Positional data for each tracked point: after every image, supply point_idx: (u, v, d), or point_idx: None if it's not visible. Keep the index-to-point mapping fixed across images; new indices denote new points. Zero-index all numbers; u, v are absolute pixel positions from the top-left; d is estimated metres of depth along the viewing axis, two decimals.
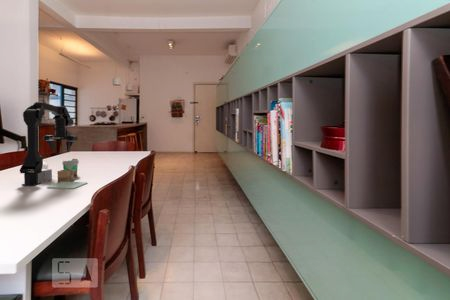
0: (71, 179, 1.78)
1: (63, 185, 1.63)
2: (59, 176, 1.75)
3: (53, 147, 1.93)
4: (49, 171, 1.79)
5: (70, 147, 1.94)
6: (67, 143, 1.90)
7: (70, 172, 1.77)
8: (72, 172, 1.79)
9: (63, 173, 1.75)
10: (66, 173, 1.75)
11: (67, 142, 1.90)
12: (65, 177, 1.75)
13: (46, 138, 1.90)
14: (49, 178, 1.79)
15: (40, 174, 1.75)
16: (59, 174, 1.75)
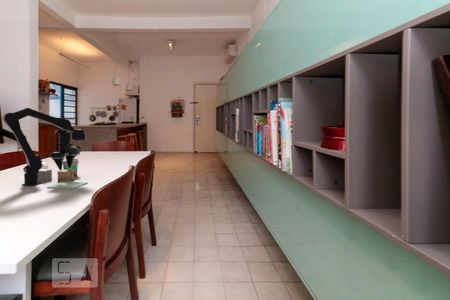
0: (71, 179, 1.78)
1: (63, 185, 1.63)
2: (59, 176, 1.75)
3: (69, 163, 1.82)
4: (49, 171, 1.79)
5: (61, 165, 1.72)
6: None
7: (70, 172, 1.77)
8: (72, 172, 1.79)
9: (63, 173, 1.75)
10: (66, 173, 1.75)
11: None
12: (65, 177, 1.75)
13: None
14: (49, 178, 1.79)
15: (40, 174, 1.75)
16: (59, 174, 1.75)
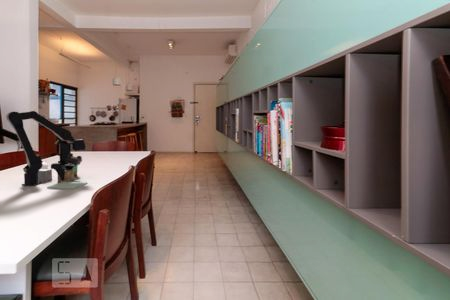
0: (71, 179, 1.78)
1: (63, 185, 1.63)
2: (59, 176, 1.75)
3: None
4: (49, 171, 1.79)
5: (63, 175, 1.74)
6: None
7: (70, 172, 1.77)
8: (72, 172, 1.79)
9: None
10: (66, 173, 1.75)
11: None
12: (65, 177, 1.75)
13: None
14: (49, 178, 1.79)
15: (40, 174, 1.75)
16: None
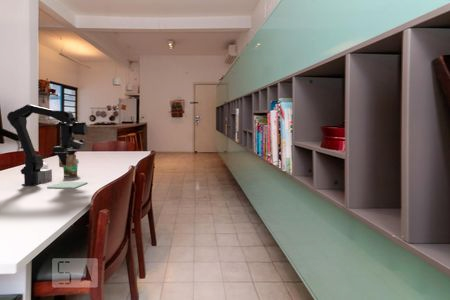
0: (73, 164, 1.67)
1: (63, 185, 1.63)
2: None
3: None
4: (49, 171, 1.79)
5: (64, 160, 1.62)
6: None
7: (72, 156, 1.66)
8: (74, 157, 1.68)
9: None
10: (68, 157, 1.63)
11: None
12: (67, 162, 1.63)
13: None
14: (49, 178, 1.79)
15: (40, 174, 1.75)
16: None
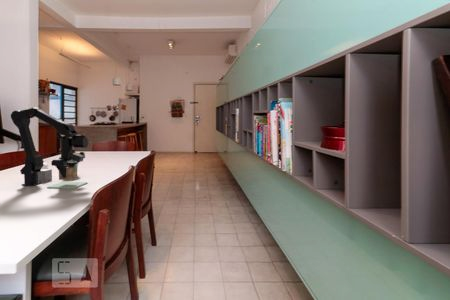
0: (73, 177, 1.66)
1: (63, 185, 1.63)
2: None
3: None
4: (49, 171, 1.79)
5: (64, 172, 1.61)
6: None
7: (72, 169, 1.65)
8: (74, 169, 1.67)
9: None
10: (68, 170, 1.62)
11: None
12: (67, 174, 1.62)
13: None
14: (49, 178, 1.79)
15: (40, 174, 1.75)
16: None
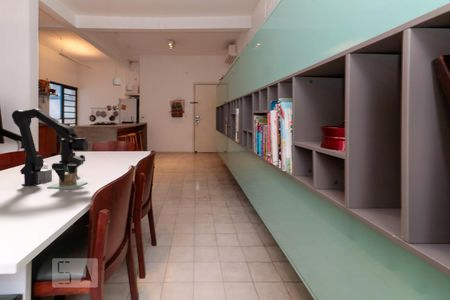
0: (74, 182, 1.66)
1: None
2: None
3: None
4: (49, 171, 1.79)
5: (63, 176, 1.60)
6: None
7: (73, 175, 1.65)
8: (75, 175, 1.67)
9: (65, 176, 1.62)
10: (68, 176, 1.62)
11: None
12: (67, 180, 1.62)
13: None
14: (49, 178, 1.79)
15: (40, 174, 1.75)
16: None
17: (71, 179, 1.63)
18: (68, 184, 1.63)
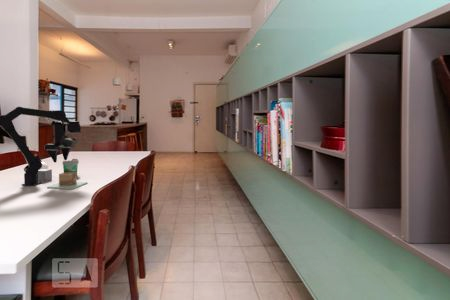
0: (74, 182, 1.66)
1: None
2: (61, 180, 1.63)
3: (64, 155, 1.79)
4: (49, 171, 1.79)
5: (55, 157, 1.69)
6: None
7: (73, 175, 1.65)
8: (75, 175, 1.67)
9: (65, 176, 1.62)
10: (68, 176, 1.62)
11: None
12: (67, 180, 1.62)
13: None
14: (49, 178, 1.79)
15: (40, 174, 1.75)
16: (61, 177, 1.63)
17: (71, 179, 1.63)
18: (68, 184, 1.63)
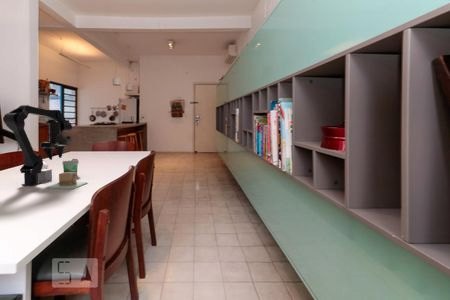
0: (74, 182, 1.66)
1: None
2: (61, 180, 1.63)
3: (59, 153, 1.86)
4: (49, 171, 1.79)
5: (51, 154, 1.75)
6: None
7: (73, 175, 1.65)
8: (75, 175, 1.67)
9: (65, 176, 1.62)
10: (68, 176, 1.62)
11: None
12: (67, 180, 1.62)
13: None
14: (49, 178, 1.79)
15: (40, 174, 1.75)
16: (61, 177, 1.63)
17: (71, 179, 1.63)
18: (68, 184, 1.63)
